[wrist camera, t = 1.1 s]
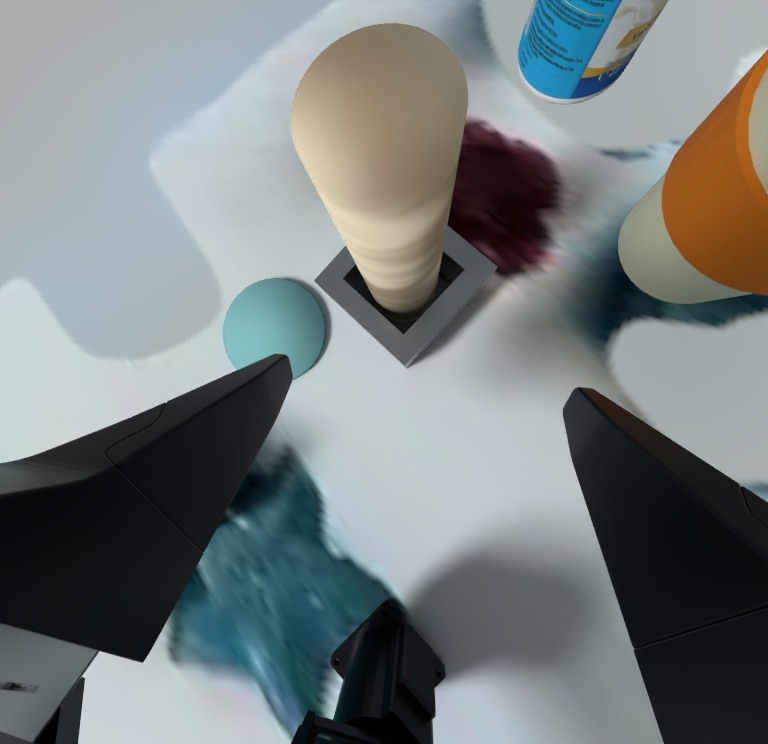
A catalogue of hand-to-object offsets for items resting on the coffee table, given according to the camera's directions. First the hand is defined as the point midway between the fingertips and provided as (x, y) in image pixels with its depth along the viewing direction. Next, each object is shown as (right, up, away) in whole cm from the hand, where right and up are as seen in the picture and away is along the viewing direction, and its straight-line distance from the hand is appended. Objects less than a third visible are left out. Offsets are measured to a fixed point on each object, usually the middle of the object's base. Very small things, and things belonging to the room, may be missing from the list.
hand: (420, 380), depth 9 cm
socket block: (+1, +7, +14) cm, 15 cm away
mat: (-11, +4, +15) cm, 19 cm away
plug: (+1, +7, +14) cm, 15 cm away
